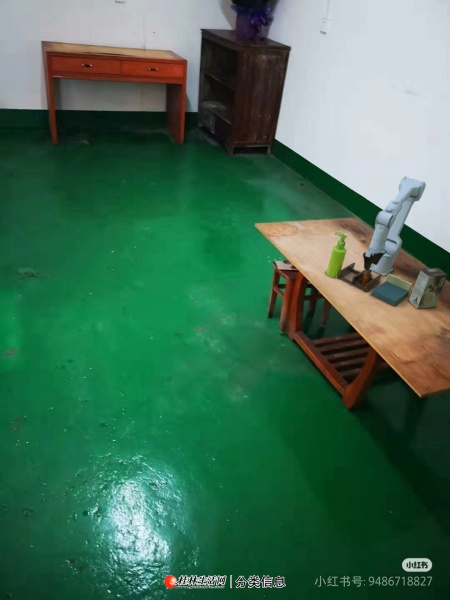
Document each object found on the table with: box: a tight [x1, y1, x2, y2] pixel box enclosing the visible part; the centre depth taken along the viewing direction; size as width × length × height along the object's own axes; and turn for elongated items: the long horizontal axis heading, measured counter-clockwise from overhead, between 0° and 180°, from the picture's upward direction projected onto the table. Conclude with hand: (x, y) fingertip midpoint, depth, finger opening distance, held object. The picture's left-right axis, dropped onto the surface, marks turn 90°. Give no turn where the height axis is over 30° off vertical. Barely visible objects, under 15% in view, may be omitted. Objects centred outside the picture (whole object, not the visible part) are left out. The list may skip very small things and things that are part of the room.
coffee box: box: [408, 267, 449, 309], centre depth 192 cm, size 9×6×16 cm
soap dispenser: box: [326, 231, 348, 279], centre depth 205 cm, size 6×7×20 cm
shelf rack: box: [337, 262, 383, 293], centre depth 207 cm, size 13×14×4 cm
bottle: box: [359, 269, 374, 287], centre depth 204 cm, size 4×4×7 cm
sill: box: [370, 273, 413, 307], centre depth 198 cm, size 14×11×6 cm
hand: (370, 266), depth 201 cm, fingers open, 7 cm apart
